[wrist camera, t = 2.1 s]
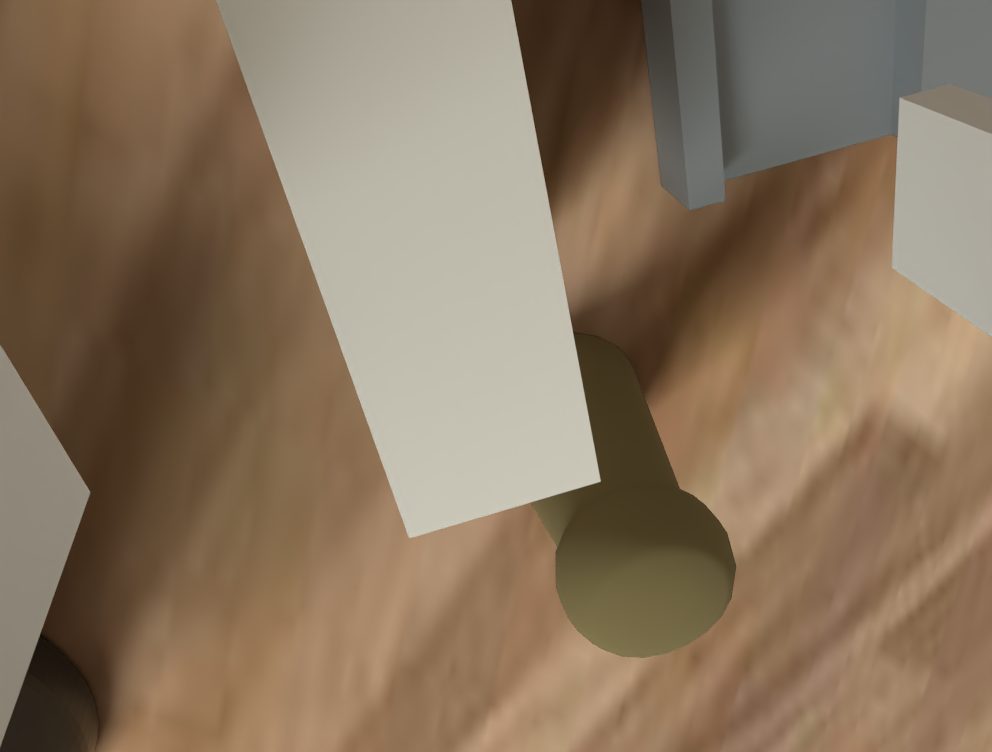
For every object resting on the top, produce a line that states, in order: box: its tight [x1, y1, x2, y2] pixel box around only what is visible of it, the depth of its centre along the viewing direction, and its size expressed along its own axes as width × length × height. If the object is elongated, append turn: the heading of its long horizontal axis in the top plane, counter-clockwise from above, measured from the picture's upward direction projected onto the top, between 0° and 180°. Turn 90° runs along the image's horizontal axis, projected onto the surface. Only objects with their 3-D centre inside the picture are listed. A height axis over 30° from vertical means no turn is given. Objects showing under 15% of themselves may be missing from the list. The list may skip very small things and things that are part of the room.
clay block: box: [216, 0, 601, 538], centre depth 21 cm, size 4×14×12 cm, turn 12°
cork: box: [531, 333, 736, 658], centre depth 28 cm, size 6×6×11 cm
